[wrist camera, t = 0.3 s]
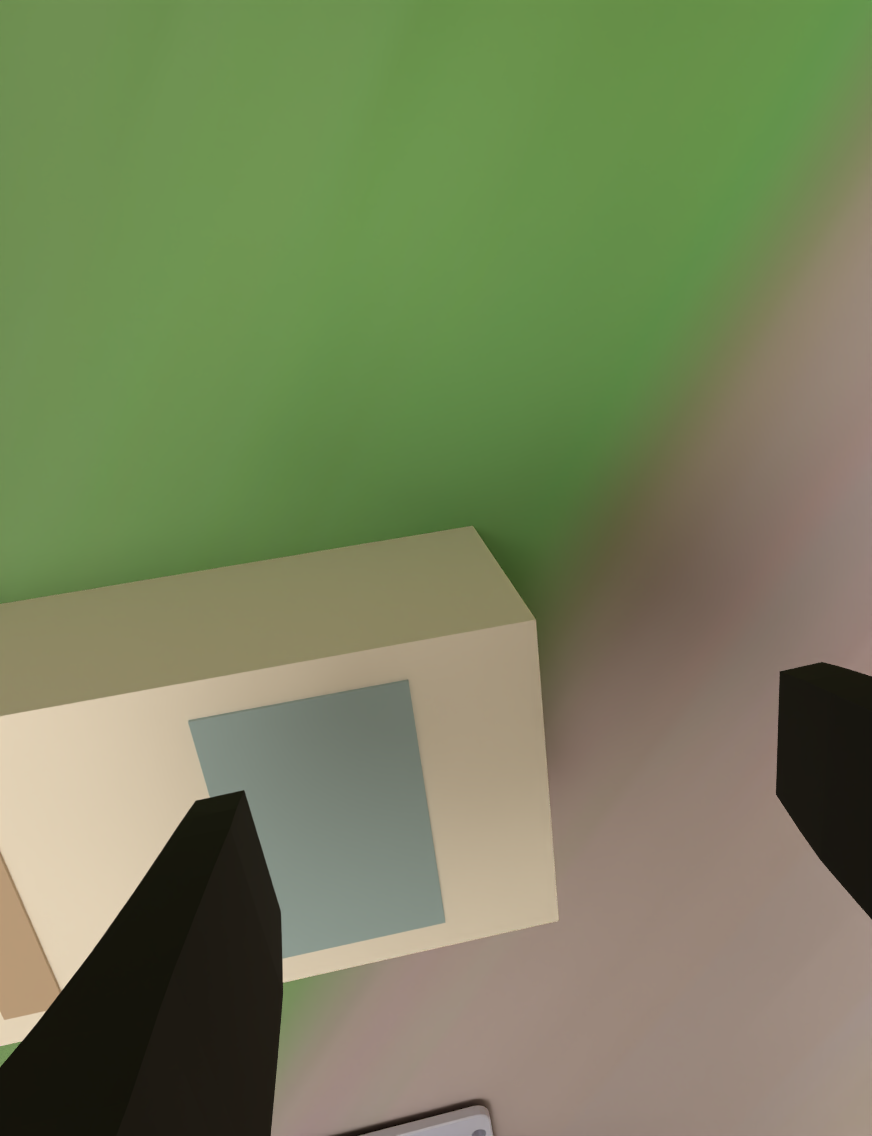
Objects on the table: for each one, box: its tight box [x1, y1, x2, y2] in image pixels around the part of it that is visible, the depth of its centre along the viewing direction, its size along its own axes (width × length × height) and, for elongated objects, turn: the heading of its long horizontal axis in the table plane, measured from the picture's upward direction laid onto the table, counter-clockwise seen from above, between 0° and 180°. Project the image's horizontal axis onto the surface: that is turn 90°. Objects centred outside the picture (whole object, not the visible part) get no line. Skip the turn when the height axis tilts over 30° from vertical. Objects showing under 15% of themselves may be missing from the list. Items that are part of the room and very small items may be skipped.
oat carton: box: [0, 526, 559, 1046], centre depth 17 cm, size 8×14×6 cm, turn 98°
